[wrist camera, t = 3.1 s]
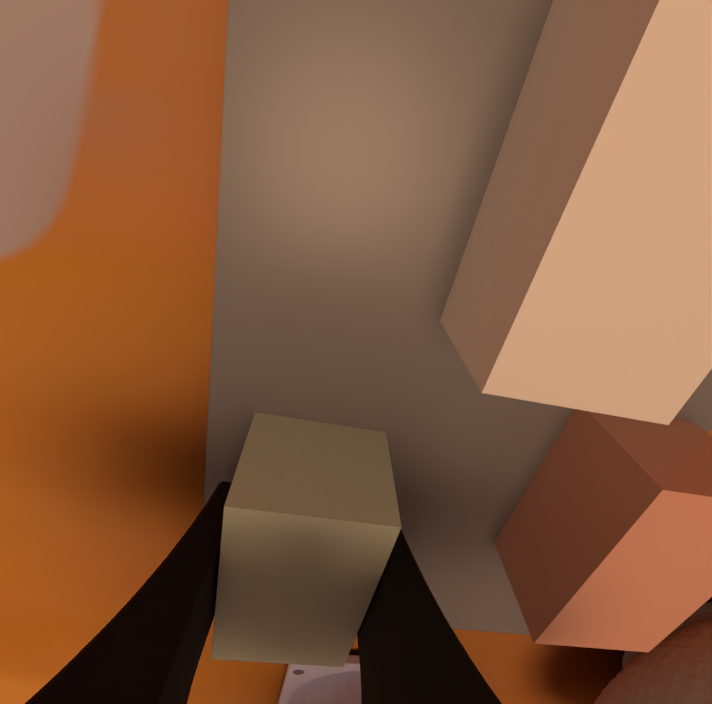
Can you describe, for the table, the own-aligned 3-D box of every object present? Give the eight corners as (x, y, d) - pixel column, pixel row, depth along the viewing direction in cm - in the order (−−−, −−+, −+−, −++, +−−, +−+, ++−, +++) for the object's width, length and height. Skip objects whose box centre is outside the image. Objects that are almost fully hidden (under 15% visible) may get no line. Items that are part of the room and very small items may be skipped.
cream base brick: (576, 347, 9) (668, 425, 7) (440, 321, 9) (481, 392, 6) (739, 53, 7) (1000, -10, 4) (555, -8, 6) (716, -127, 4)
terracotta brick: (587, 553, 13) (648, 652, 11) (494, 542, 13) (533, 643, 10) (693, 421, 11) (809, 511, 8) (579, 402, 10) (662, 489, 8)
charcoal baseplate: (530, 615, 17) (538, 635, 16) (205, 585, 15) (198, 607, 14) (951, 74, 8) (1013, 67, 7) (251, -177, 6) (238, -224, 5)
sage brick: (342, 563, 13) (343, 667, 11) (238, 552, 13) (210, 658, 10) (385, 431, 10) (401, 527, 8) (255, 412, 10) (224, 506, 7)
